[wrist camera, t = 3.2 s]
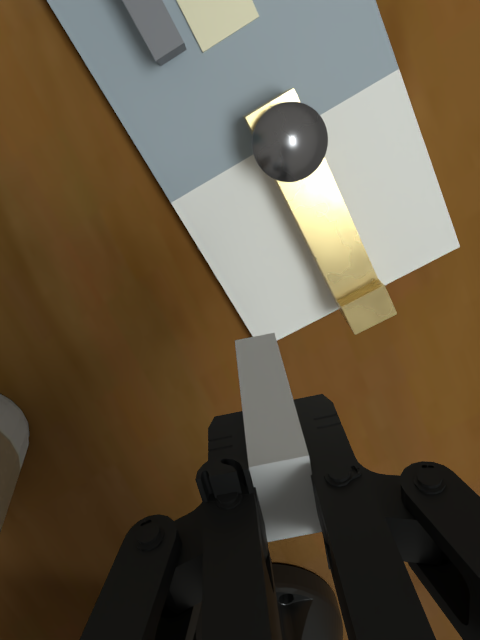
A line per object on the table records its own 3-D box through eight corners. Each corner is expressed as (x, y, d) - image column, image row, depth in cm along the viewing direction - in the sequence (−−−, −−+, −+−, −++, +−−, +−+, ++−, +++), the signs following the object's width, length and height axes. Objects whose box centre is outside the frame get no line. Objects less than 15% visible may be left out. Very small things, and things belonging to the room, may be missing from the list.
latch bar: (234, 121, 24) (237, 123, 21) (295, 84, 23) (307, 81, 21) (333, 317, 29) (346, 338, 26) (386, 290, 28) (405, 309, 26)
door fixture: (257, 338, 32) (265, 371, 28) (42, -17, 23) (7, -43, 19) (447, 239, 30) (484, 260, 26) (294, -195, 21) (314, -268, 17)
